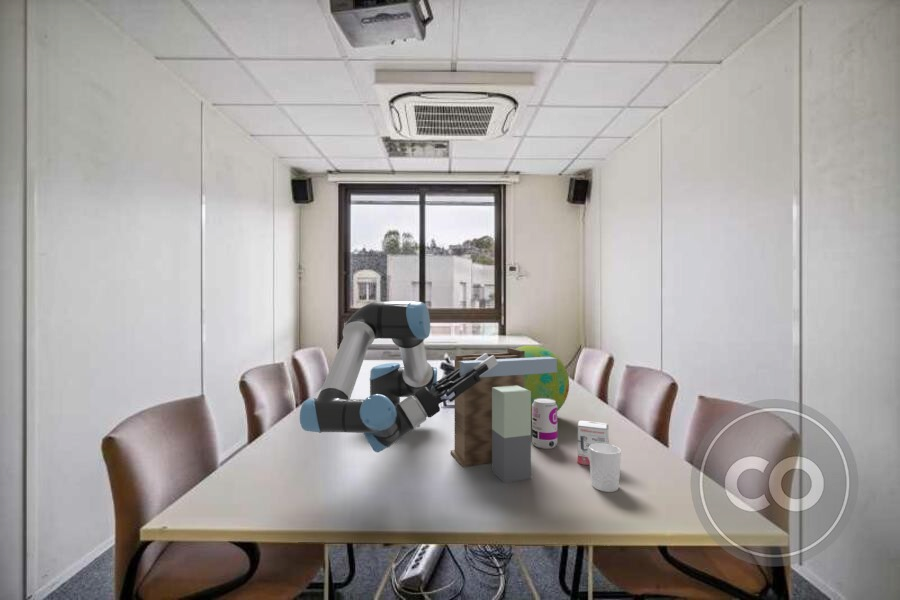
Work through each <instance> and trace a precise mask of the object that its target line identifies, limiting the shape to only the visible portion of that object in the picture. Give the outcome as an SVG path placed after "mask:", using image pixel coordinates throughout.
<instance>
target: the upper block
mask: <svg viewBox="0 0 900 600" xmlns="http://www.w3.org/2000/svg"><path fill="white" fill-rule="evenodd" d="M492 430H494V431H495V432H497V433H498V434H499V435H501V436H502V437H503V438H510V437H518V436H527V435H531V436H532V421H531V391H529V390H527V389H524V388H522V387H520V386H517V385H516V386H502V387H492Z"/></svg>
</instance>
